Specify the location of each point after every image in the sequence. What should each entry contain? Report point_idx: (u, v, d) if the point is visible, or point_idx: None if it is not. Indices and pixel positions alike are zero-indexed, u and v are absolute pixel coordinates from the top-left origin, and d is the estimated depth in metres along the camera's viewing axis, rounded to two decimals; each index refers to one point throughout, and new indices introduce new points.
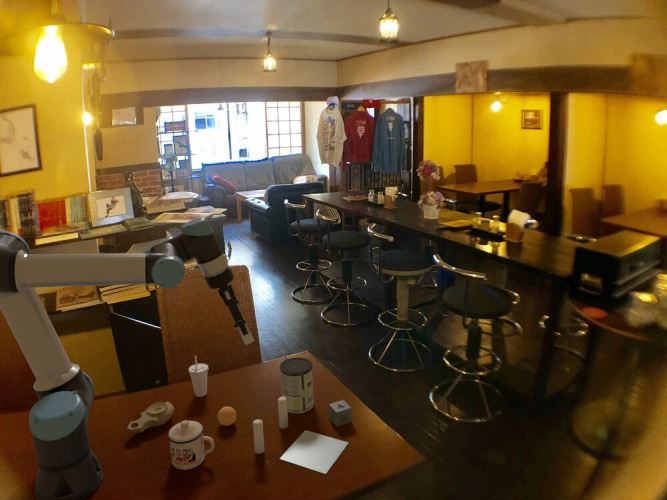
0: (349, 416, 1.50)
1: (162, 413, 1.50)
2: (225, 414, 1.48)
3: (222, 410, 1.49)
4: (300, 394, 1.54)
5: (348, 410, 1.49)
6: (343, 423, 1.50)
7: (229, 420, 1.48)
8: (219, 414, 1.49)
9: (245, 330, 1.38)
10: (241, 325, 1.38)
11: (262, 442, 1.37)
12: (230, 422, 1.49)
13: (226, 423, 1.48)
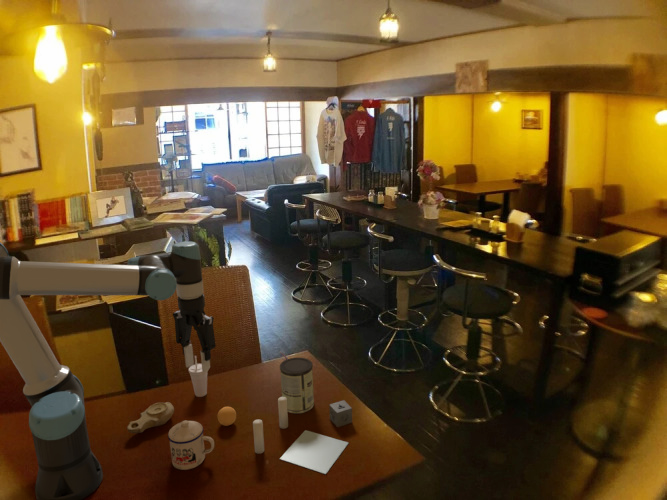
0: (350, 416, 1.50)
1: (162, 413, 1.50)
2: (225, 414, 1.48)
3: (222, 410, 1.49)
4: (300, 394, 1.54)
5: (349, 410, 1.49)
6: (344, 423, 1.49)
7: (229, 420, 1.48)
8: (219, 414, 1.49)
9: (209, 355, 1.48)
10: None
11: (262, 442, 1.37)
12: (230, 422, 1.49)
13: (226, 423, 1.48)
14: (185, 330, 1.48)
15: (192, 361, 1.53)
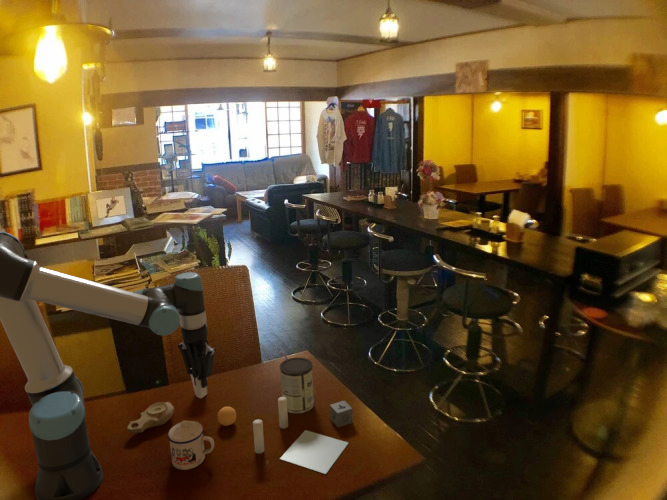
0: (350, 417, 1.50)
1: (162, 413, 1.50)
2: (225, 414, 1.48)
3: (222, 410, 1.49)
4: (300, 394, 1.54)
5: (349, 411, 1.49)
6: (344, 424, 1.49)
7: (229, 420, 1.48)
8: (219, 414, 1.49)
9: (206, 382, 1.52)
10: (205, 377, 1.51)
11: (262, 442, 1.37)
12: (230, 422, 1.49)
13: (226, 423, 1.48)
14: (192, 360, 1.50)
15: None
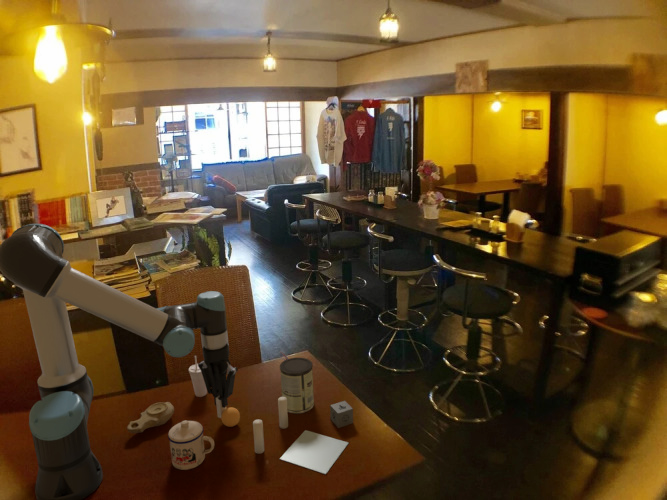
0: (351, 417, 1.50)
1: (162, 413, 1.50)
2: (230, 416, 1.48)
3: (228, 411, 1.48)
4: (300, 394, 1.54)
5: (350, 411, 1.49)
6: (345, 424, 1.49)
7: (232, 423, 1.48)
8: (224, 414, 1.48)
9: (226, 402, 1.50)
10: None
11: (262, 442, 1.37)
12: (233, 424, 1.48)
13: (229, 425, 1.48)
14: (213, 379, 1.48)
15: (223, 410, 1.52)
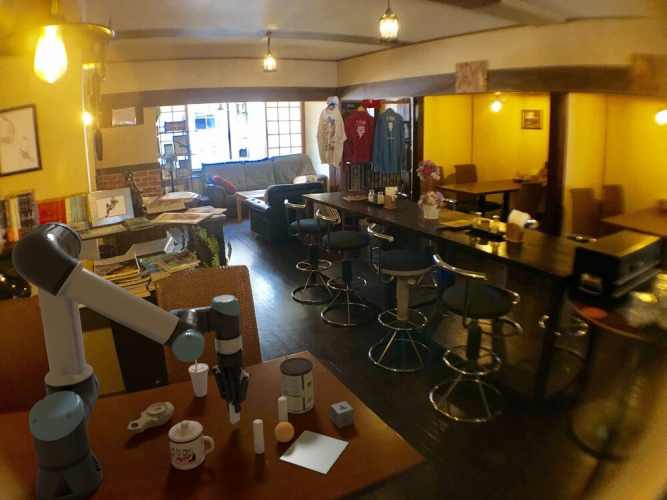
0: (351, 417, 1.49)
1: (162, 413, 1.50)
2: (286, 434, 1.40)
3: (285, 427, 1.40)
4: (300, 394, 1.54)
5: (350, 411, 1.49)
6: (345, 424, 1.49)
7: (286, 440, 1.41)
8: (280, 430, 1.40)
9: (240, 407, 1.48)
10: None
11: (262, 442, 1.37)
12: (286, 441, 1.41)
13: (282, 441, 1.41)
14: (226, 384, 1.46)
15: None
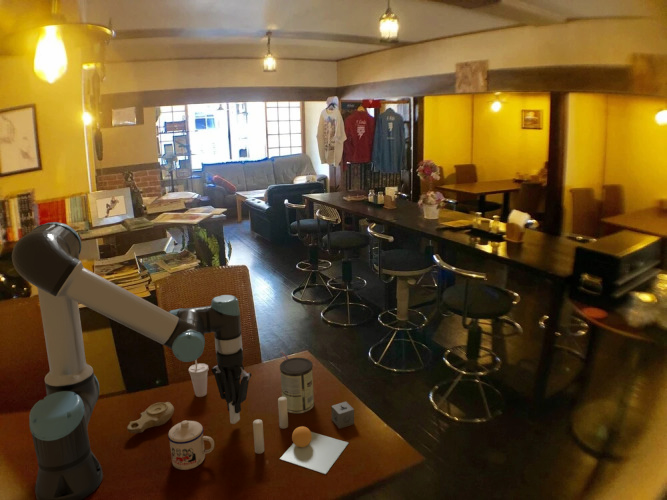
0: (352, 418, 1.49)
1: (162, 413, 1.50)
2: (298, 446, 1.39)
3: (305, 446, 1.39)
4: (300, 394, 1.54)
5: (351, 412, 1.48)
6: (346, 425, 1.49)
7: None
8: (303, 445, 1.38)
9: (240, 407, 1.48)
10: None
11: (262, 442, 1.37)
12: (292, 438, 1.40)
13: (293, 439, 1.39)
14: (226, 384, 1.46)
15: None
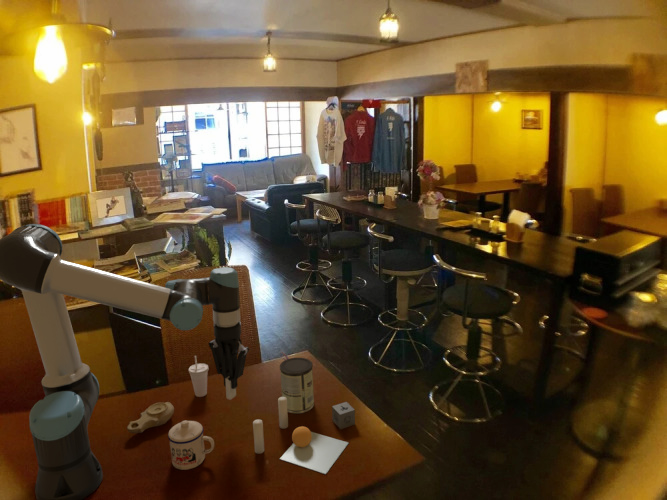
0: (352, 418, 1.49)
1: (162, 413, 1.50)
2: (298, 446, 1.39)
3: (305, 446, 1.39)
4: (300, 394, 1.54)
5: (351, 412, 1.48)
6: (346, 425, 1.48)
7: None
8: (303, 445, 1.38)
9: (236, 383, 1.46)
10: None
11: (262, 442, 1.37)
12: (292, 438, 1.40)
13: (293, 439, 1.39)
14: (223, 359, 1.44)
15: None
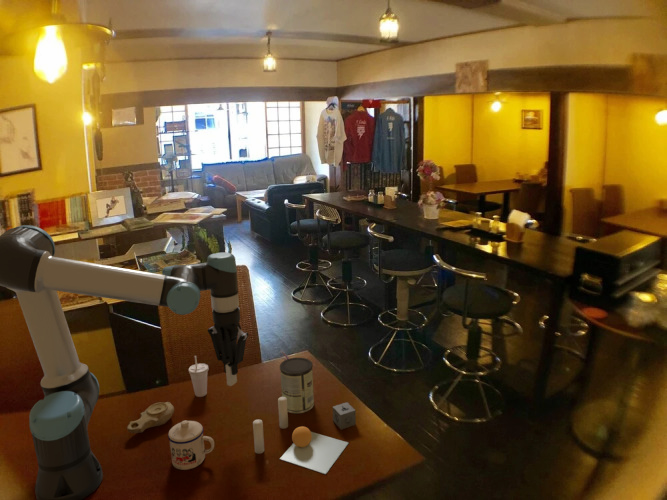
0: (353, 419, 1.49)
1: (162, 413, 1.50)
2: (298, 446, 1.39)
3: (305, 446, 1.39)
4: (300, 394, 1.54)
5: (352, 412, 1.48)
6: (347, 426, 1.48)
7: None
8: (303, 445, 1.38)
9: (236, 369, 1.45)
10: None
11: (262, 442, 1.37)
12: (292, 438, 1.40)
13: (293, 439, 1.39)
14: (223, 345, 1.42)
15: None
